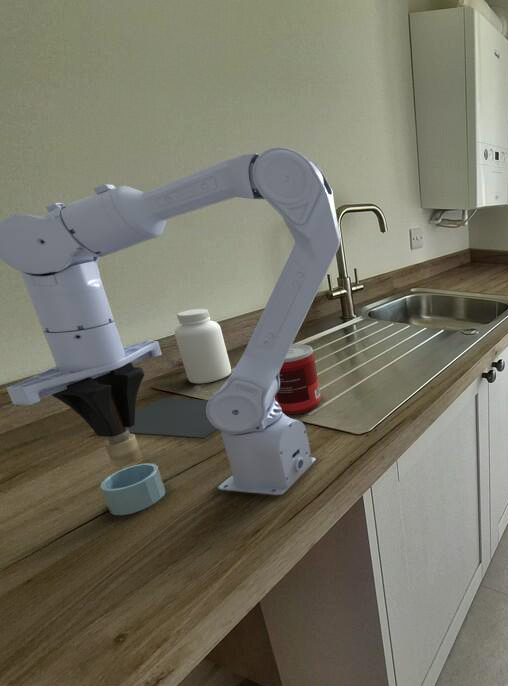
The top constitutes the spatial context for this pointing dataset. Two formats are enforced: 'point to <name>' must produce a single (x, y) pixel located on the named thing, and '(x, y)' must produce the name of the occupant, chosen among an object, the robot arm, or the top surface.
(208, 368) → the pill bottle
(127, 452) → the brush
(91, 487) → the top surface
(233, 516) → the top surface
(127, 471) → the bowl
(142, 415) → the mat
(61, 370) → the robot arm
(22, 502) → the top surface
